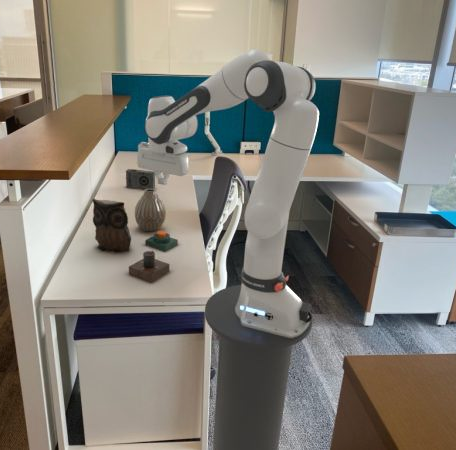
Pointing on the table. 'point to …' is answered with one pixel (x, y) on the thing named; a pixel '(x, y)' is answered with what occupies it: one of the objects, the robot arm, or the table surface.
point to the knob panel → (149, 270)
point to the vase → (150, 211)
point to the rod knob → (149, 259)
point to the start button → (161, 234)
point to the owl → (111, 226)
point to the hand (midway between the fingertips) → (162, 184)
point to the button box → (162, 242)
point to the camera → (140, 179)
